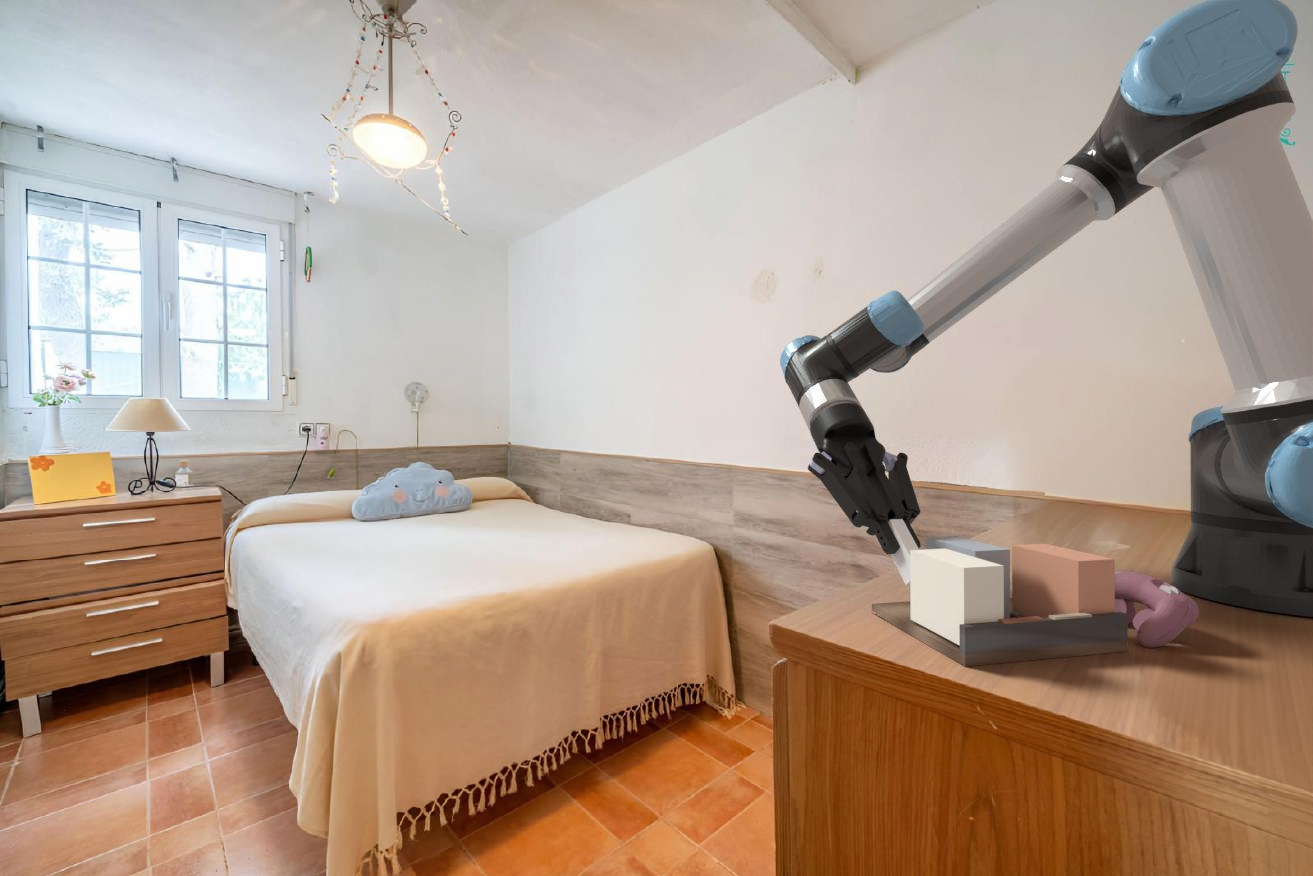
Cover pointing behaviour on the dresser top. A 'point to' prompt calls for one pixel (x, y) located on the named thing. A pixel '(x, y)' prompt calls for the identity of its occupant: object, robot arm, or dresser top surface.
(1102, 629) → the tray
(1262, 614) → the dresser top surface
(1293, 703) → the dresser top surface
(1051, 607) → the terracotta block
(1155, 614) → the video game controller
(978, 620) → the cream white block
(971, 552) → the blue-grey block
